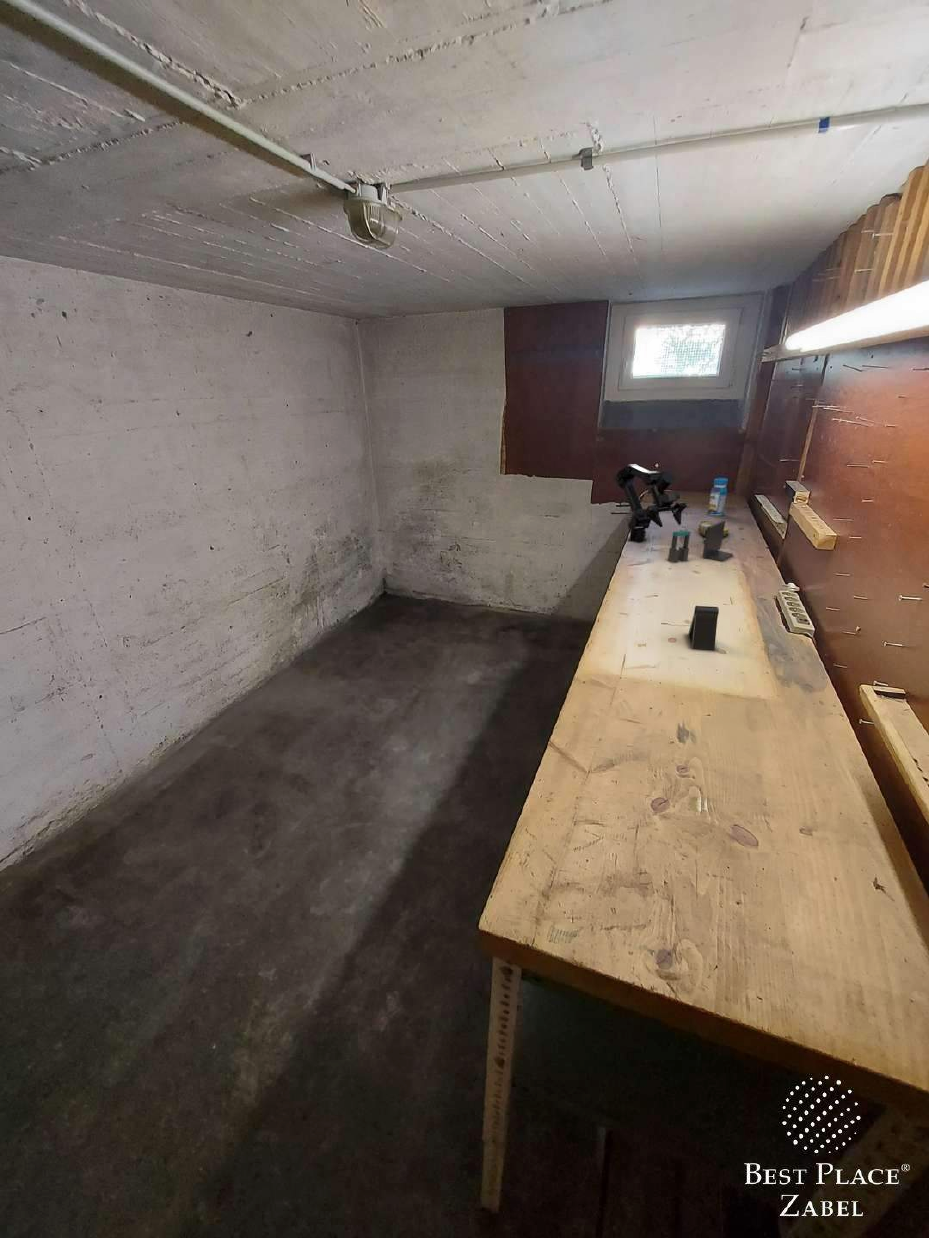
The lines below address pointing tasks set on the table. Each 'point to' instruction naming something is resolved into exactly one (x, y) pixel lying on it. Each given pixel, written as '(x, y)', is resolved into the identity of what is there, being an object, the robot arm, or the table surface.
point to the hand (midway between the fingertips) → (671, 525)
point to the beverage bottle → (718, 497)
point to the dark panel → (715, 542)
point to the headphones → (683, 551)
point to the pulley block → (704, 530)
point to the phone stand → (703, 627)
